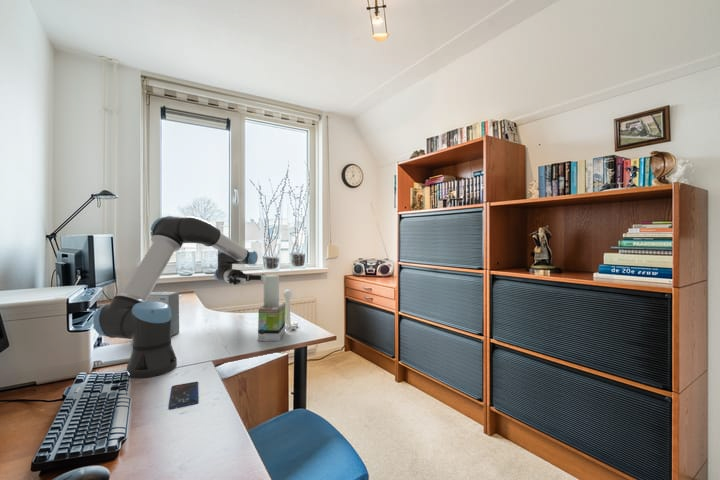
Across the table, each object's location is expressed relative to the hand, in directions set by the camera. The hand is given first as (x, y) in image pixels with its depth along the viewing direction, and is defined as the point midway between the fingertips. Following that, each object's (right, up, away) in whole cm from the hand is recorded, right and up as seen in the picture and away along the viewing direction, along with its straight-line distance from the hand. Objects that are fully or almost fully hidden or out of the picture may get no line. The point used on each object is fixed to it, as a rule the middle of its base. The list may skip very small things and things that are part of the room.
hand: (257, 280), depth 160 cm
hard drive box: (-45, -26, -5) cm, 52 cm away
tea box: (+9, -26, -5) cm, 28 cm away
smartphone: (-3, -28, -62) cm, 68 cm away
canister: (+8, -11, -5) cm, 15 cm away
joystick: (+14, -26, +9) cm, 31 cm away
